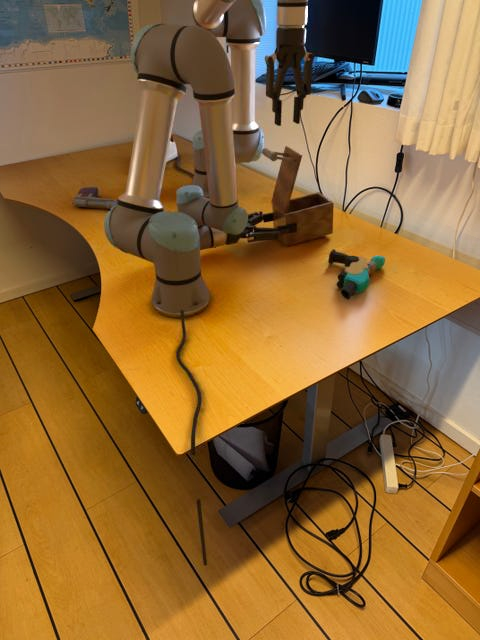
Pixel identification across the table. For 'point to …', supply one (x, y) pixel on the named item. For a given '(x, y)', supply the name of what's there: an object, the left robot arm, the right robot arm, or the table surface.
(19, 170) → the table surface
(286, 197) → the lid
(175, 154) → the sneaker
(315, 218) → the chest
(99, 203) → the toy gun
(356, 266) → the toy gun
